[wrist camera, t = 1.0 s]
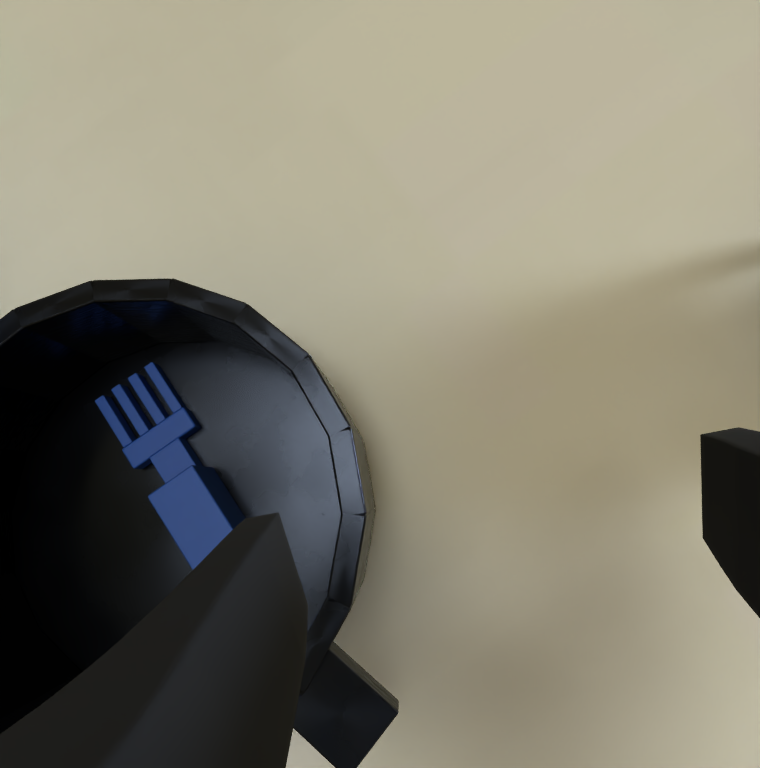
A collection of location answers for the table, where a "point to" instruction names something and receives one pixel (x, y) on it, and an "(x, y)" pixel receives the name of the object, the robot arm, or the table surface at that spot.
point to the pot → (132, 486)
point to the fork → (173, 465)
